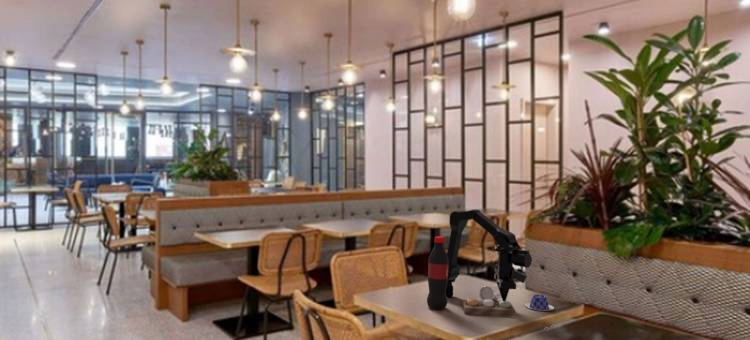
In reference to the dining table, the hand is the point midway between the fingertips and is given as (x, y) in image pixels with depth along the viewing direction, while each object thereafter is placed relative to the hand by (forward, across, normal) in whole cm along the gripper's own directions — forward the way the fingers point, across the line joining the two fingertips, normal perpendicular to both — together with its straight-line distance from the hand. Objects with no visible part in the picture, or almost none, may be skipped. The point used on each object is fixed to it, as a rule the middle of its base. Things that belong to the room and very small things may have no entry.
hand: (504, 300), depth 220 cm
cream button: (+3, 0, +7) cm, 7 cm away
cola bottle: (+5, 0, +28) cm, 28 cm away
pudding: (+5, +10, -16) cm, 20 cm away
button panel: (+4, 0, +6) cm, 8 cm away
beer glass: (+2, +19, +1) cm, 19 cm away
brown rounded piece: (+3, 0, +13) cm, 13 cm away
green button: (+3, 0, 0) cm, 3 cm away
